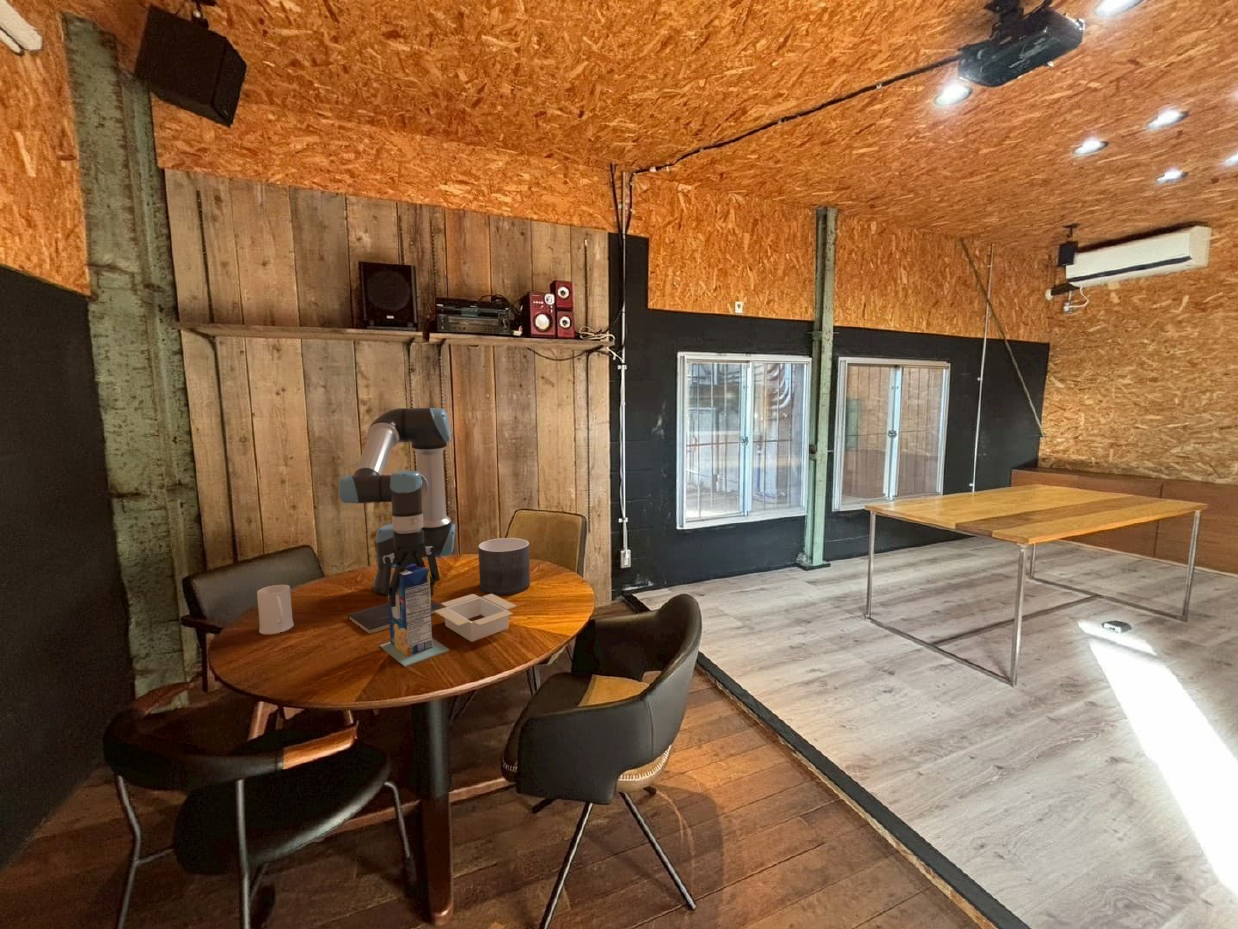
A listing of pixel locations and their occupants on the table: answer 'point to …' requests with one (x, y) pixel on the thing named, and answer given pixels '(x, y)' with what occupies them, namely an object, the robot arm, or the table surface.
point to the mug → (275, 609)
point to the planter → (504, 566)
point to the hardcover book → (379, 617)
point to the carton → (472, 607)
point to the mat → (416, 657)
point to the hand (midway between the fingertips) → (412, 612)
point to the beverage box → (412, 611)
